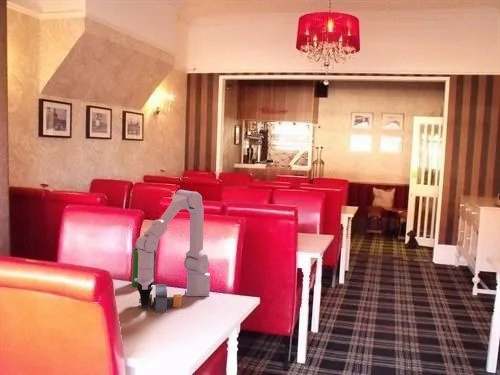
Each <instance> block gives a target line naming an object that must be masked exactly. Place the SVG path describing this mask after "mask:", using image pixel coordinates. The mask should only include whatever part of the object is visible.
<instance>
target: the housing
mask: <svg viewBox="0 0 500 375" xmlns="http://www.w3.org/2000/svg"><path fill="white" fill-rule="evenodd" d="M167 291H168V290H167V284H161V283H160V284H155V294H154V295H155V296H154V297H156V307H154V308H155V313H167V308H168V307H167V297H168V292H167Z"/></svg>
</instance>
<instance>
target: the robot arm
mask: <svg viewBox="0 0 500 375" xmlns="http://www.w3.org/2000/svg"><path fill="white" fill-rule="evenodd" d="M181 210H187V211H188V212H189V250H188V251H187V252H185V259H184V261H183V265H184V268H185V269H186V273H187V275H186V276H187V277H186V278H187V279H186V280H187V281H186V289H185V291H184V292H185V296H186V297H210V290H211V274H210V272H208V270H209V269H210V263H209V256H208V254H207V253H206V252H205V249H204V216H205V214H204V213H205V211H204V210H205V208H204V204H203V196H202V195H201V194H200V193H199V192H197V191H190V190H184V189H179V190H177V191H176V192H175V194H173V196H172V200H171V201H170V204H169V205H168V207H167V208H166V210H165V211H164V213H163V214H162V215H161V216H160V217H159V219H155V220H154V221H152V222H151V225H150V226H149V228H148V229H147V230H145V232H144V234H142V235H140V236H139V237H138V238H136V239H137V242H136V241H135V243H134V244H135V248H137V249H138V278H135V279H134V281H137V282H138V285H139V286H137V287H136V288H137V291H138V293H139V297H140V298H141V303H140V305H141V304H142V305H148V301H149V296H150V294H151V292H152V291H153V289H154V287H153V284H154V283H153V281H154V280H155V278H154V279H153V266H154V251H155V252H156V250H157V249H158V247H159V246H158V245H159V241H160V239H161V238H162V237H163V235H164V234H165V233H166V231H167V230H168V224H169V223H170V222H171V221H172V219H173V218H174V217H175V216H177V214H178V213H179V211H181ZM154 267H155V266H154ZM154 282H155V281H154Z"/></svg>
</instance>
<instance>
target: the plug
mask: <svg viewBox="0 0 500 375" xmlns="http://www.w3.org/2000/svg"><path fill="white" fill-rule="evenodd" d="M182 298H183V297H182V294H181V293H180V294H173V296H167V308H182ZM138 304H140V309H152V308H155V307H156V297H155V296H153V294H151V293H150V296H149V301H148V305H142V304H141V298H138Z"/></svg>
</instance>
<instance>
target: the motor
mask: <svg viewBox="0 0 500 375" xmlns="http://www.w3.org/2000/svg"><path fill="white" fill-rule="evenodd" d="M137 239H138V238H136V239H135V243H136V242H137ZM155 259H156V250H155V251H154V266H153V279H154V280H155V265H156V264H155V263H156V260H155ZM131 269H132V271H131V273H132V274H131V286H132V287H136V288H137V286H139V285H138V282H137V281H134V279H135V278H138V249H137V248H136V247H134V248H132V268H131ZM154 282H155V281H153V284H154Z"/></svg>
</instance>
